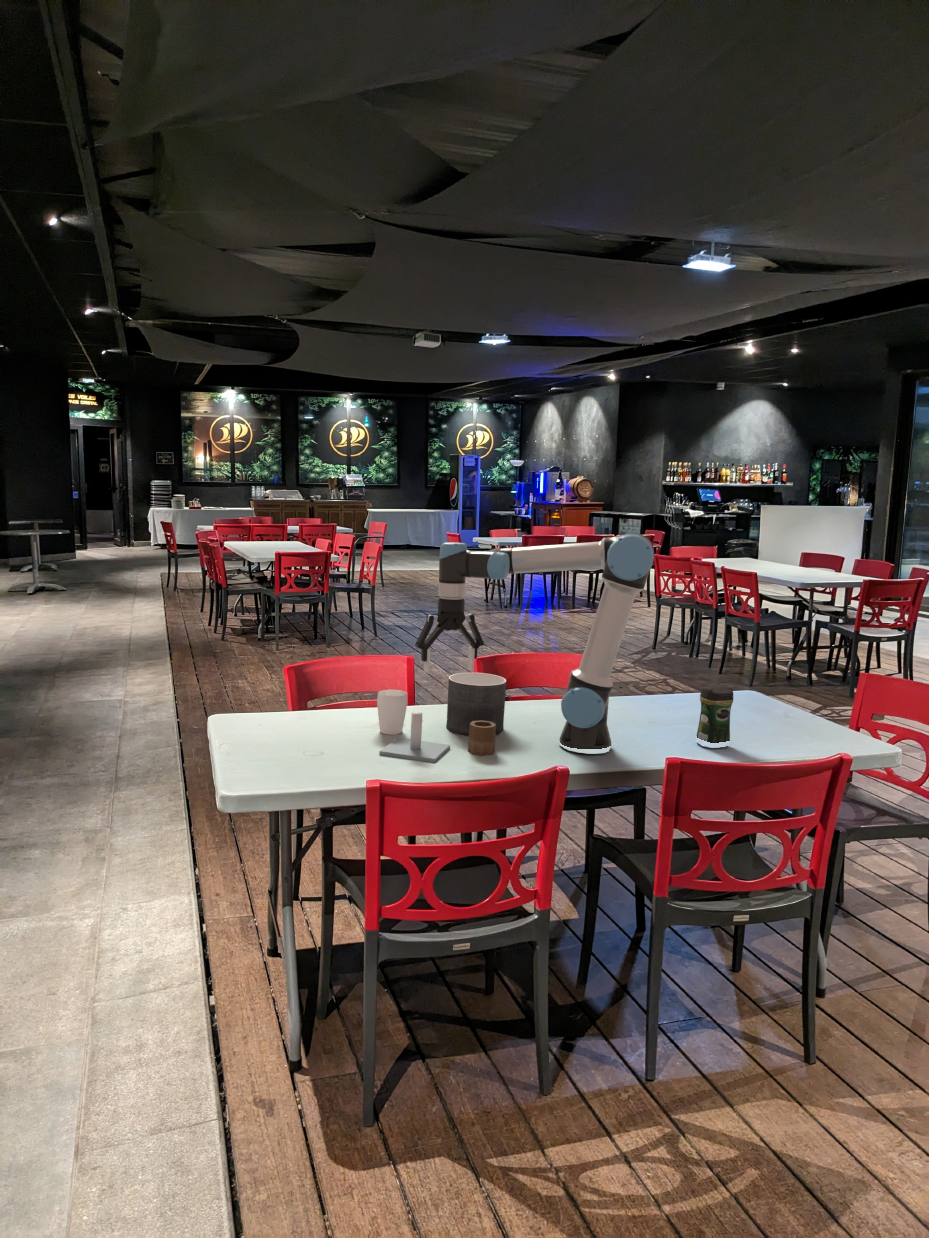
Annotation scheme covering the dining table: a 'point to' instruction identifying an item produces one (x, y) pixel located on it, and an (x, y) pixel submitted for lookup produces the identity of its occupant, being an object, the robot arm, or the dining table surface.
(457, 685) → the planter
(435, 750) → the post block
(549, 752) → the dining table surface
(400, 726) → the cup
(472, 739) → the collar
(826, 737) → the dining table surface
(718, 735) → the coffee jar
